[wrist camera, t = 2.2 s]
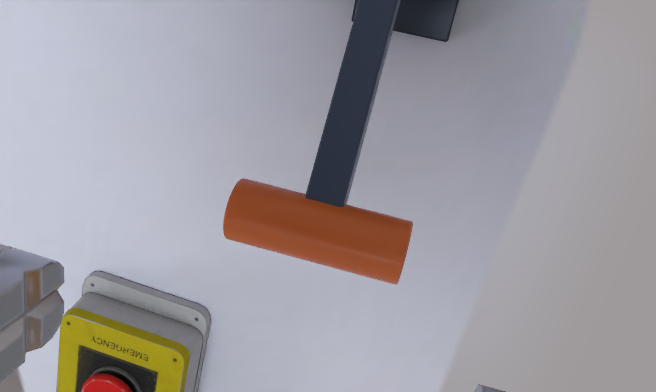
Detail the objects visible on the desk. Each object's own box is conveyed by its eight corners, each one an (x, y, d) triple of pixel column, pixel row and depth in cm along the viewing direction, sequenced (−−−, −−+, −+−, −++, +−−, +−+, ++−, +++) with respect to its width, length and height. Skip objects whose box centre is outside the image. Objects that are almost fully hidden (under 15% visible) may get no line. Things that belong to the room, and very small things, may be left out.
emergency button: (184, 346, 33) (155, 514, 38) (212, 308, 37) (183, 465, 42) (46, 299, 34) (38, 469, 39) (89, 267, 38) (76, 425, 43)
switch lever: (395, 283, 16) (398, 286, 14) (236, 240, 17) (214, 236, 14) (496, -119, 17) (515, -179, 15) (347, -145, 18) (342, -207, 16)
